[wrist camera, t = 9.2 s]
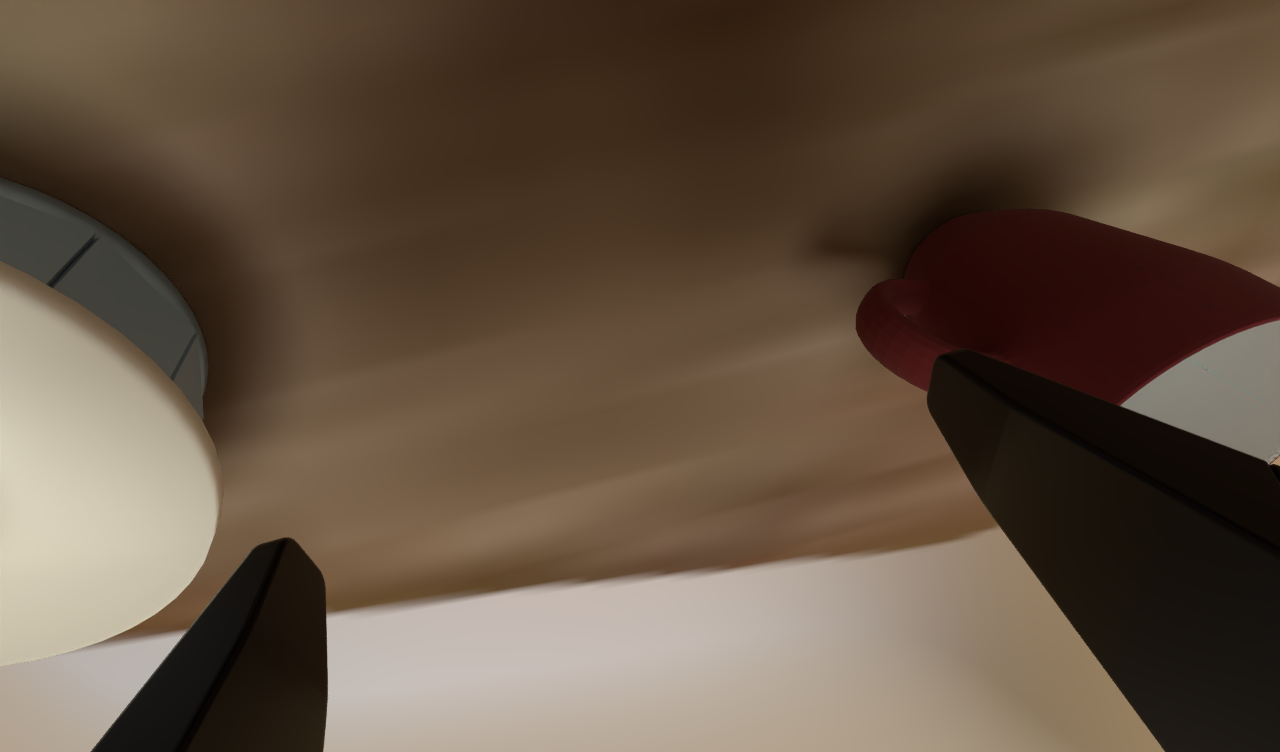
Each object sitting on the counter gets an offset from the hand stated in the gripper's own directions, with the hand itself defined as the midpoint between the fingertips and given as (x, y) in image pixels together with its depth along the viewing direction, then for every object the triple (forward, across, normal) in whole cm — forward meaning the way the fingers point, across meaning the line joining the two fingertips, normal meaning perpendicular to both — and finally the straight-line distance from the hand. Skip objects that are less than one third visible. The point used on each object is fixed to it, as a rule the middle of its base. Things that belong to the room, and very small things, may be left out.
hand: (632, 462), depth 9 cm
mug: (+12, -13, +7) cm, 19 cm away
